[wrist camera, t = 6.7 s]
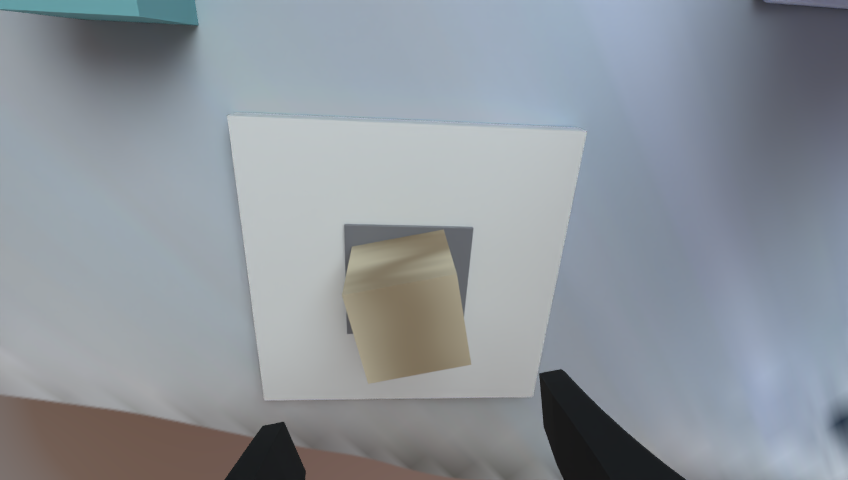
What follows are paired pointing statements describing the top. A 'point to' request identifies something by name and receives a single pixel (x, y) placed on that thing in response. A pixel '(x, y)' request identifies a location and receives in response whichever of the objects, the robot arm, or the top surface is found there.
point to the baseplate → (394, 218)
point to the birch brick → (405, 307)
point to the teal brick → (111, 10)
